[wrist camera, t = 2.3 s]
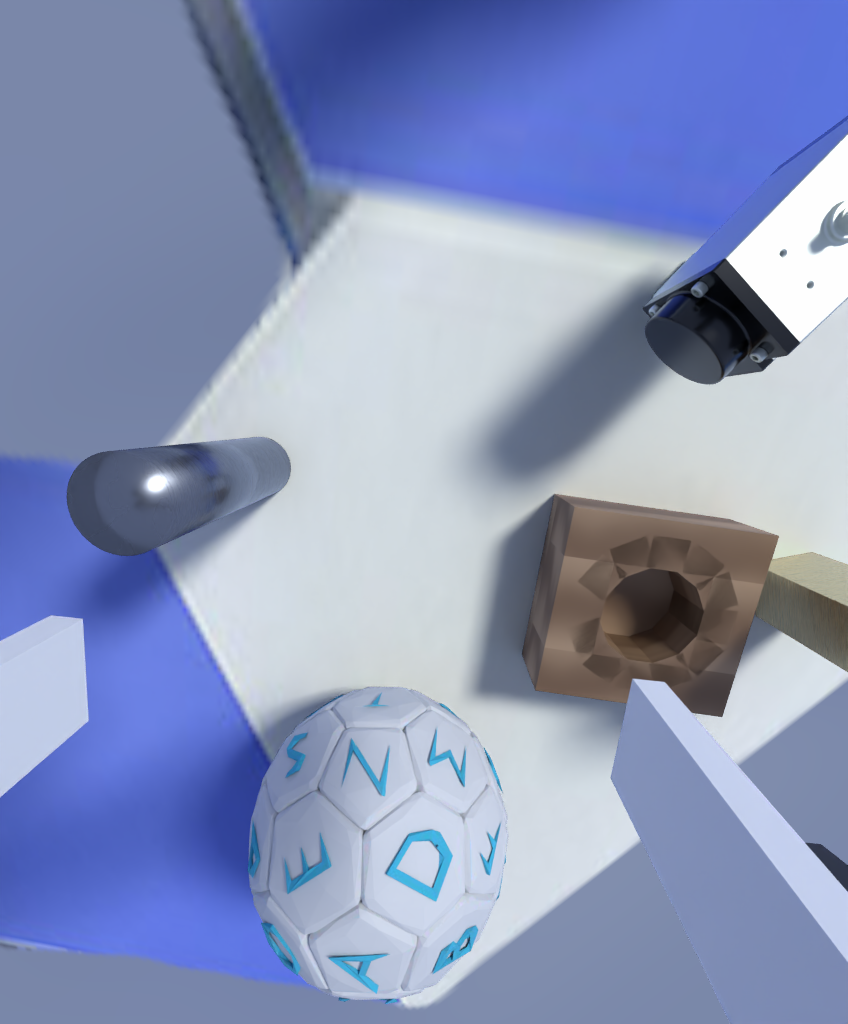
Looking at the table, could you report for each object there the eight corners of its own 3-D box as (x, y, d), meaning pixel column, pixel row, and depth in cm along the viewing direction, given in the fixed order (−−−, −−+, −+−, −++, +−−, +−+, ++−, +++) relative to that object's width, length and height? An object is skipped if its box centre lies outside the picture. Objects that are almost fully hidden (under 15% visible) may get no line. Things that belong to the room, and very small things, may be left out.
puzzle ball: (322, 621, 33) (230, 785, 18) (518, 678, 33) (583, 882, 19) (276, 789, 36) (165, 1046, 21) (456, 839, 36) (469, 1123, 22)
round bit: (234, 432, 30) (65, 444, 16) (293, 441, 30) (173, 459, 16) (231, 491, 31) (67, 548, 17) (288, 499, 31) (171, 562, 17)
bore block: (554, 494, 30) (574, 506, 26) (729, 519, 30) (779, 536, 26) (522, 654, 33) (535, 690, 28) (683, 677, 33) (722, 717, 28)
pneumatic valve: (591, 344, 28) (700, 291, 17) (738, 190, 26) (979, 7, 15) (649, 405, 29) (794, 395, 17) (797, 259, 27) (1073, 137, 15)
